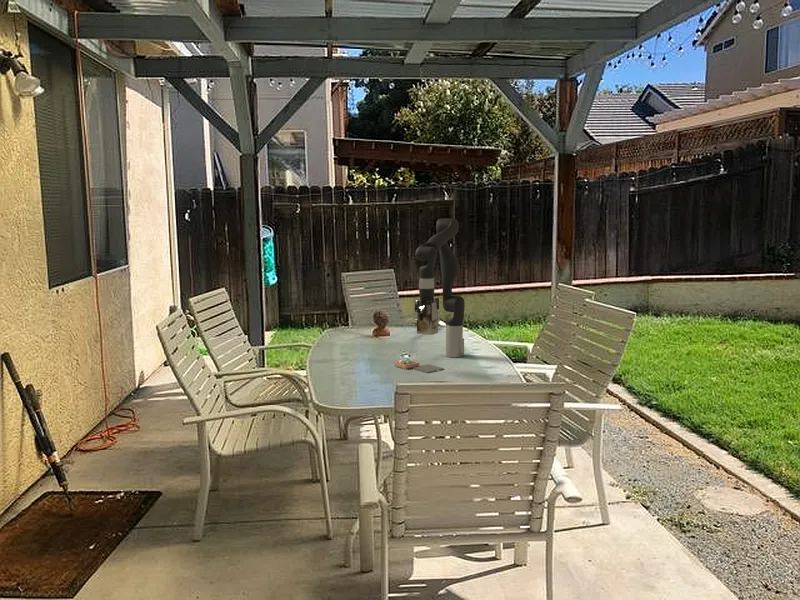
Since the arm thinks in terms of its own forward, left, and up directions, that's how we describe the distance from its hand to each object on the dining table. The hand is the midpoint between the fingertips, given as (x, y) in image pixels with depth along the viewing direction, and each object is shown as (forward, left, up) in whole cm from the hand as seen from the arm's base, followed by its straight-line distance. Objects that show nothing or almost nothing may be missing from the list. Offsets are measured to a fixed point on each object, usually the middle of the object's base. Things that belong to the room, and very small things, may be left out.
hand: (427, 319), depth 343 cm
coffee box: (0, 0, -7) cm, 7 cm away
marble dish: (+5, -11, -25) cm, 28 cm away
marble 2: (+3, -12, -23) cm, 26 cm away
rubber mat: (0, 0, -25) cm, 25 cm away
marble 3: (+5, -9, -23) cm, 25 cm away
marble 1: (+6, -12, -23) cm, 27 cm away
